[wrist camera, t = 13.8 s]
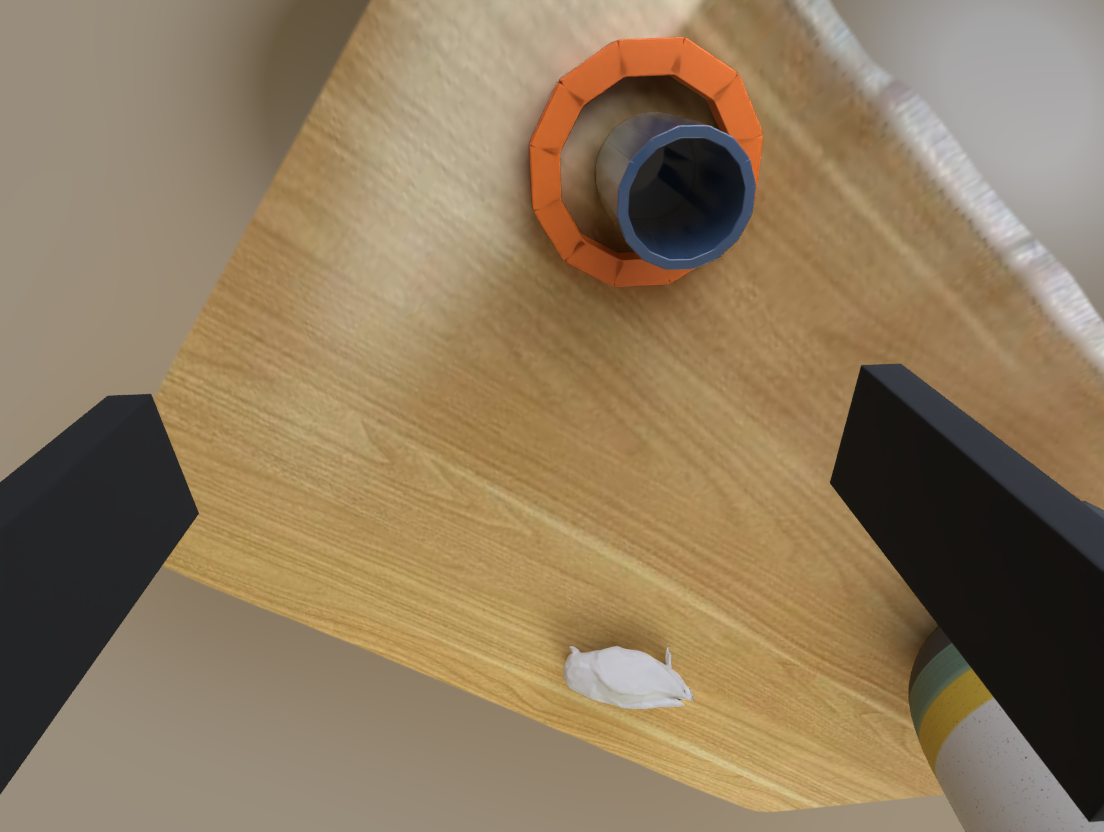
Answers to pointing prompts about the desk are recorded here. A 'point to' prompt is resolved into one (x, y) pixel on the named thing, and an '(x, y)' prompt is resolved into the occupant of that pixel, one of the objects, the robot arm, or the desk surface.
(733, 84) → the ring
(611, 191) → the cup
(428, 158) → the desk surface
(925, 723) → the planter
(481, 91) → the desk surface
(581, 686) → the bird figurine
